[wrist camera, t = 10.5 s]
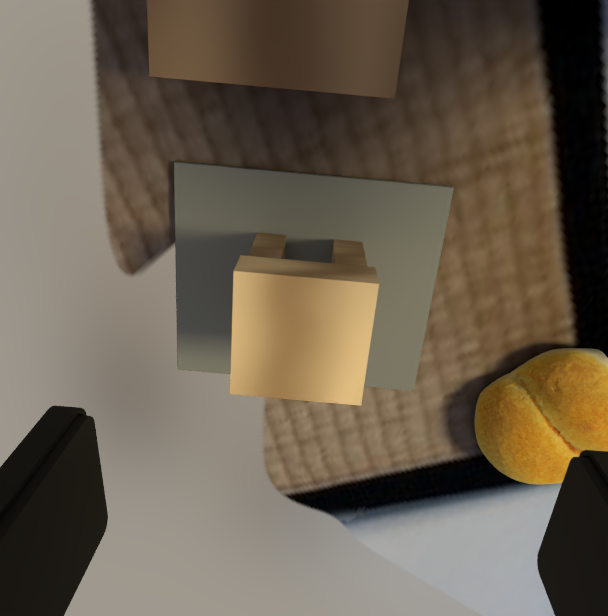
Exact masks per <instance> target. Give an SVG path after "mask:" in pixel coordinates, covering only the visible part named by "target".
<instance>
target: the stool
mask: <svg viewBox="0 0 608 616" xmlns="http://www.w3.org/2000/svg"><path fill="white" fill-rule="evenodd" d="M285 244H286V235H280V234H269V233H257V235H256V238H255V240H254V242H253V245H252V247H251V250H250V252H249V255H248V256H243V255H240V258H239V260H238V262H237V264H236V267H235V269H234V273H233V309H232V344H231V380H230V381H231V383H230V394H237V395H248V396H259V397H271V398H282V399H293V400H305V401H316V402H327V403H338V404H350V405H361V402H362V395H363V389H364V382H365V375H366V369H367V362H368V356H369V349H370V342H371V336H372V329H373V322H374V316H375V309H376V302H377V296H378V289H379V281H378V277H377V273H376V269H375V267H368V266H367V261H366V257H365V252H364V247H363V243H362V242H359V241H348V240H337V239H334V242H333V251H332V260H331V263H322V262H311V261H300V260H288V259H284V258H285Z"/></svg>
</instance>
